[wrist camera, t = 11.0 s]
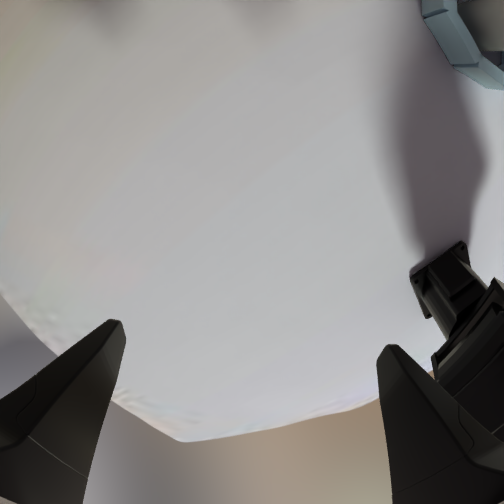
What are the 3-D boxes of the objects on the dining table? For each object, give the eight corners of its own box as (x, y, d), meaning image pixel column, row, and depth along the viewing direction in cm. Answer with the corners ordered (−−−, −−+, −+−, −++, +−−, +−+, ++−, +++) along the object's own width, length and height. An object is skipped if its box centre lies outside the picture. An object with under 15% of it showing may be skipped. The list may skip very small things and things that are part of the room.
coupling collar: (521, 66, 10) (542, 69, 8) (468, 101, 13) (493, 106, 11) (465, -31, 6) (484, -38, 4) (396, -16, 10) (415, -28, 7)
